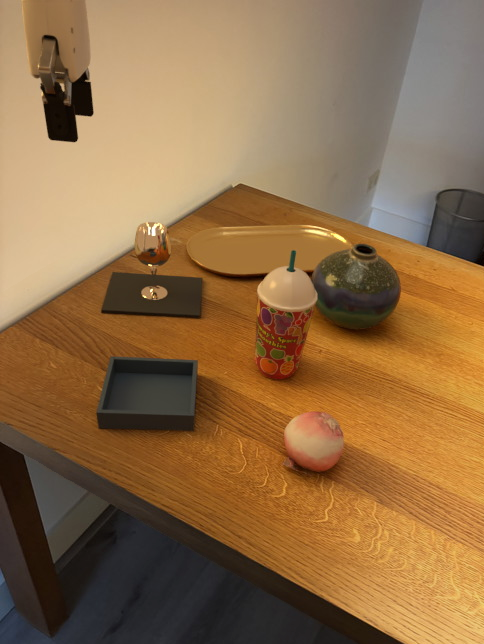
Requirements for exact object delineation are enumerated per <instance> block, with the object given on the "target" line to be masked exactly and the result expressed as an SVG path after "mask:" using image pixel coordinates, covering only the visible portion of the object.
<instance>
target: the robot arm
mask: <svg viewBox="0 0 484 644" xmlns="http://www.w3.org/2000/svg"><path fill="white" fill-rule="evenodd" d="M20 1H21V11H22V21H23V31H24V39H25V47H26V55H27V64H28V70H29V71H28V72H29V74H30V75H31V76H32V77H33V79H40V83H39V89H40V90H41V102H42V106H43V113H44V119H45V126H46V133H47V137H48V139H49V140H50V141H53V142H54V141H55V142H64V143H65V142H67V143H77V142H78V140H79V134H78V133H79V132H78V125H77V124H78V123H77V116H80V117H90V118H91V117H93V115H95V114H94V113H95V112H94V102H93V101H94V100H93V91H92V82H91V81H90V79H91V76H90V75H91V74H90V69H89V66H90V64H91V41H90V29H89V20H88V19H89V18H88V11H87V9H88V8H87V2H86V0H20ZM61 84H63V87H62V85H61Z"/></svg>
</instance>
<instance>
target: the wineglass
mask: <svg viewBox="0 0 484 644" xmlns="http://www.w3.org/2000/svg"><path fill="white" fill-rule="evenodd" d="M134 252H135V256H136V258H137V260H138V261H139V262H140V263H141V264H143V265H144V266H147V267H150V274H152V277H153V286H147V287H145V288H144V289H143V290H142V291H141V294H142V296H143V297H144V298H146V299H150V300H160V299H163V298H165V297H166V296H167V294H168V292H167V290H166V289H165V288H163V287H161V286H156V282H155V277H156V275H157V271H158V269H157V267H160V266H163V265H165V264H166V263H167V262H168V261H169V260H170V258H171V253H172V244H171V238H170V234H169V230H168V227H167V226H166V225H165V224H163V223H159V222H155V221H147V222H143V223H140V224H139V225H138V226H137V228H136V232H135V237H134Z"/></svg>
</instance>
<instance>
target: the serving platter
mask: <svg viewBox="0 0 484 644" xmlns="http://www.w3.org/2000/svg"><path fill="white" fill-rule="evenodd" d="M353 246H354V244H353V243H352V242H351V241H350V240H349V239H348V238H346V237H345V236H343V235H342V234H340V233H338V232H335V231H333V230H330V229H328V228H324V227H320V226H317V225H316V226H314V225H308V224H279V225H277V224H275V225H274V224H273V225H248V226H246V225H244V226H243V225H242V226H222V227H221V226H220V227H219V226H218V227H217V226H216V227H211V228H207V229H203V230H201V231H198V232H196V233H194V234H193V235H191V236H190V237H189V238H188V240H187V242H186V245H185V249H186V254H187V255H188V256H189V258H190V260H192V262H194V263H195V264H196V265H197V266H199V267H200V268H201V269H204V270H206V271H208V272H210V273H213V274H216V275H219V276H225V277H232V278H250V277H266V276H267V275H268V274H269V273H270V272H271V271H273V270H274V269H276V268H278V267H282V266H289V263H290V256H291V251H292V250H295V251H296V256H295V263H294V267H296V268H299V269H301V270H302V271H304V272H305V273H306V274H313V272H314V270H315V268H316V266H317V265H318V264H319V262H320V261H321V260H322V259H324V258H325V257H326V256H328V255H330V254H332V253H334V252H337V251H340V250H345V249H352V247H353Z"/></svg>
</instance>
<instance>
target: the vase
mask: <svg viewBox="0 0 484 644" xmlns="http://www.w3.org/2000/svg"><path fill="white" fill-rule="evenodd" d="M311 274H312V275H311V278H310V279H311V281H312V283H313V285H314V288H315V290H316V292H317V301H316V304H315V308H316V310H317V312H318V313H319V314H320V316H321V317H323V318H324V319H325V320H327V322H329V323H331V324H333V325H335V326H338V327H339V328H343V329H347V330H358V331H360V330H367V329H372V328H374V327H377V326H380V324H382V323H383V322H385V321H386V320H387V319H388V318H390V317H391V315H392V314H393V313H394V311H395V310H396V308H397V307H398V304H399V301H400V299H401V295H402V294H401V293H402V285H401V280H400V277H399V274H398V273H397V271H396V269H395V267H394V266H393V265H391V263H390V262H388V260H387V259H385V258H384V257H382V256H380V255H379V254H378V251H377V248H375V247H374V246H372V245H370V244H367V243H355V244H353V247H352V249H345V250H340V251H337V252H334V253H332V254H330V255H328V256H326V257H325V258H324V259H322V260H321V261H320V262H319V264H318V265H317V266H316V268H315V270H314V272H313V273H311Z"/></svg>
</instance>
